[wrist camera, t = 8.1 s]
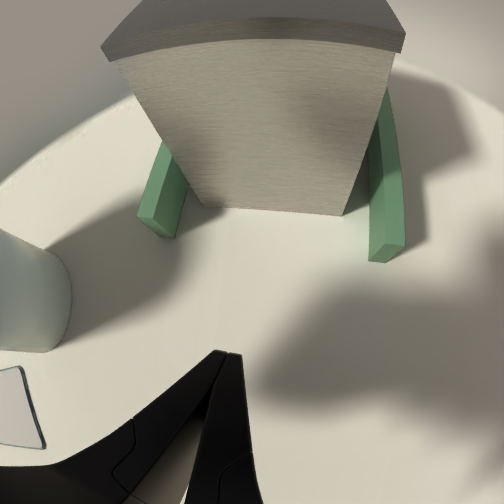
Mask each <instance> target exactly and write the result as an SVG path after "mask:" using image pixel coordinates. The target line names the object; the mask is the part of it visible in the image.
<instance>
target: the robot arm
mask: <svg viewBox="0 0 504 504" xmlns="http://www.w3.org/2000/svg"><path fill="white" fill-rule="evenodd" d="M252 451H253V450H252V442H251V433H250V425H249V416H248V407H247V398H246V389H245V380H244V370H243V360H242V355H241V354H237V353H231V352H230V353H227V352H226V351H221V350H213V351H212V352H211V353H210V354H209V355H208V356H206V357H205V358H204V359H203V360H202V361H201V362H199V363H198V364H197V365H196V366H195V367H194V368H192V369H191V370H190V371H189V372H188V373H186V374H185V375H184V376H183V377H182V378H181V379H179V380H178V381H177V382H176V383H175V384H173V385H172V386H171V387H170V388H168V389H167V390H166V391H165V392H164V393H162V394H161V395H160V396H159V397H158V398H156V399H155V400H154V401H153V402H151V403H150V404H149V405H148V406H146V407H145V408H144V409H143V410H141V411H140V412H139V413H138V414H136V415H135V416H134V417H133V419H130V420H128V421H127V422H126V423H125V424H123V425H122V426H121V427H119V428H118V429H117V430H115V431H114V432H112V433H111V434H110V435H108V436H106V437H105V438H103V439H101V440H100V441H98V442H96V443H95V444H93V445H91V446H89V447H88V448H86V449H84V450H82V451H80V452H78V453H76V454H75V455H73V456H71V457H69V458H67V459H65V460H63V461H61V462H58V463H55V464H51V465H44V466H0V504H180V502H181V500H182V498H183V495H184V493H185V491H186V489H187V486H188V484H189V486H188V490H187V494H186V499H185V503H184V504H263V500H262V497H261V493H260V490H259V486H258V482H257V477H256V471H255V465H254V457H253V453H252Z"/></svg>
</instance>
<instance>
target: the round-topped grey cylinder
mask: <svg viewBox="0 0 504 504" xmlns="http://www.w3.org/2000/svg"><path fill="white" fill-rule="evenodd" d="M71 305H72V291H71V283H70V278H69V275H68V272H67V270H66V267H65V266H64V264H63V262H62V261H61V260H60V259H59V258H58V257H57V256H55V255H54V254H52V253H50V252H47V251H45V250H43V249H41V248H39V247H37V246H34V245H32V244H30V243H28V242H26V241H24V240H22V239H20V238H18V237H16V236H14V235H12V234H10V233H8V232H6V231H4V230H2V229H0V350H4V351H16V352H31V353H45V352H48V351H50V350H52V349H53V348H55V347H56V346H57V344H58V343H59V342H60V341H61V339H62V337H63V335H64V334H65V331H66V329H67V326H68V323H69V319H70V314H71Z"/></svg>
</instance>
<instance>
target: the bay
mask: <svg viewBox="0 0 504 504" xmlns="http://www.w3.org/2000/svg"><path fill="white" fill-rule="evenodd" d="M367 147H368V164H369V194H370V229H369V259H368V261H373V262H382V263H386V262H387V261H388V260H389V259H391V258H392V257H393V256H394V255H395V254H396V253H398V252H399V251H400V250H401V249H402V248H403V247H405V225H404V204H403V190H402V178H401V168H400V160H399V152H398V144H397V137H396V131H395V125H394V119H393V114H392V108H391V103H390V99H389V94H388V89H387V86H386V90H385V93H384V96H383V100H382V103H381V106H380V109H379V113H378V116H377V119H376V122H375V125H374V128H373V131H372V134H371V137H370V140H369V143H368V146H367ZM188 184H189V182H188V181H187V179H186V178H185V176H184V174H183V173H182V171H181V170H180V168H179V166H178V165H177V163H176V162H175V160H174V158H173V157H172V155H171V154H170V152H169V150H168V149H167V147H166V146H165V144H164V142H163V141H162V143H161V145H160V148H159V151H158V153H157V156H156V159H155V161H154V164H153V167H152V170H151V173H150V176H149V178H148V181H147V184H146V187H145V190H144V193H143V197H142V200H141V203H140V206H139V209H138V213H137V216H136V217H137V218H138V219H139V220H141V221H142V222H143V223H144V224H145V225H147V226H148V227H149V228H150V229H151V230H152V231H154V232H155V233H156V234H157V235H158V236H160V237H169V238H174V237H175V233H176V229H177V225H178V221H179V217H180V213H181V210H182V206H183V202H184V198H185V195H186V191H187V188H188Z"/></svg>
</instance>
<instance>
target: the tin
mask: <svg viewBox="0 0 504 504" xmlns="http://www.w3.org/2000/svg"><path fill="white" fill-rule="evenodd" d="M405 35H406V33H405V31H404V29H403V28H402V26H401V24H400V22H399V21H398V19H397V17H396V15H395V14H394V12H393V10H392V9H391V7H390V6H389V4H388V3H387V1H386V0H143V1H142V2H141V3H140V4H139V5H138V6H137V7H136V8H135V9H134V10H133V11H132V12H131V13H130V14H129V15H128V16H127V17H126V18H125V19H124V20H123V21H122V22H121V23H120V24H119V25H118V27H117V28H116V29H115V30H114V31H113V32H112V33H111V34H110V36H109V37H108V38H107V39H106V40H105V42H104V43H103V44H102V45H101V49H102V51H103V52H104V54H105V55H106V57H107V59H108V60H109V62H111V61H115V63H116V65H117V66H118V68H119V70H120V71H121V73H122V75H123V76H124V78H125V80H126V82H127V83H128V85H129V86H130V88H131V90H132V91H133V93H134V95H135V96H136V98H137V100H138V101H139V103H140V105H141V106H142V108H143V110H144V111H145V113H146V115H147V116H148V118H149V119H150V121H151V123H152V124H153V126H154V128H155V129H156V131H157V133H158V134H159V136H160V137H161V139H162V141H163V142H164V144H165V146H166V147H167V149H168V150H169V152H170V154H171V155H172V157H173V158H174V160H175V162H176V163H177V165H178V166H179V168H180V170H181V171H182V173H183V174H184V176H185V178H186V179H187V181H188V182H189V184H190V186H191V187H192V189H193V190H194V192H195V194H196V195H197V197H198V198H199V200H200V201H201V203H202V205H203V206H205V207H225V208H242V209H257V210H271V211H284V212H297V213H309V214H320V215H330V216H342V214H343V211H344V209H345V206H346V204H347V201H348V198H349V196H350V193H351V191H352V188H353V185H354V183H355V180H356V177H357V174H358V172H359V169H360V166H361V163H362V160H363V158H364V155H365V152H366V149H367V146H368V143H369V140H370V137H371V134H372V131H373V128H374V125H375V122H376V119H377V116H378V113H379V109H380V106H381V103H382V100H383V96H384V93H385V90H386V86H387V83H388V79H389V76H390V72H391V69H392V65H393V61H394V57H395V53H401V50H402V46H403V42H404V39H405Z"/></svg>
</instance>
